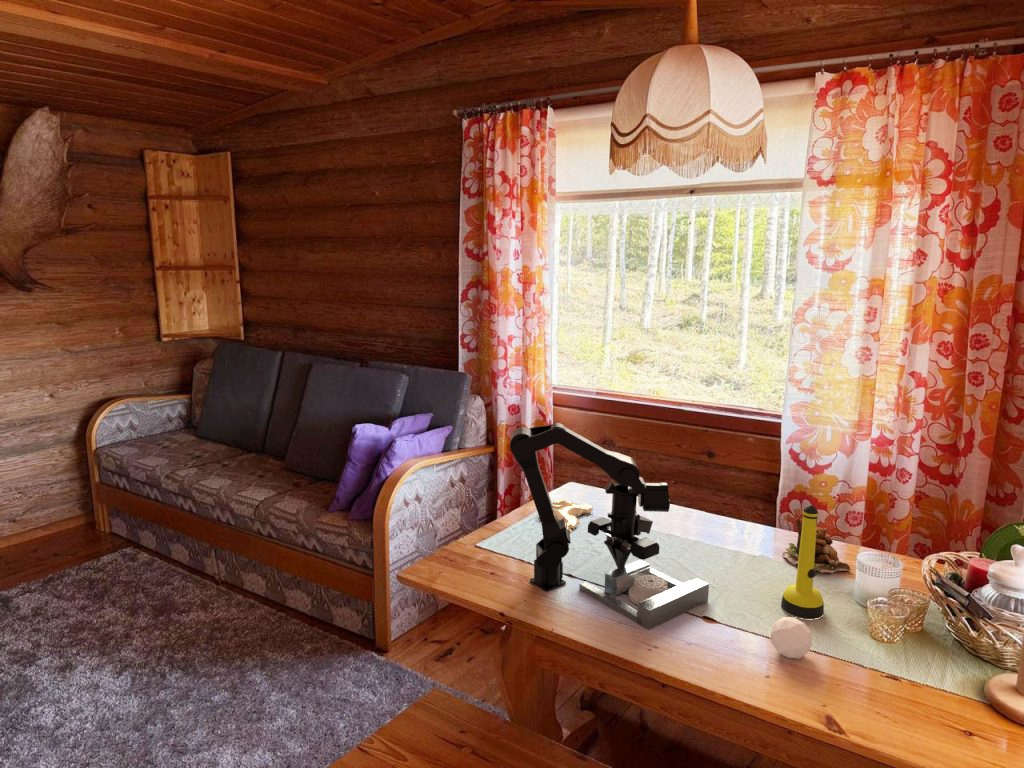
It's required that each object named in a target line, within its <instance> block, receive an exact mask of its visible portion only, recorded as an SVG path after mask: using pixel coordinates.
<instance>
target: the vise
mask: <svg viewBox="0 0 1024 768" xmlns="http://www.w3.org/2000/svg"><path fill="white" fill-rule="evenodd" d="M650 575H654V576H657V577H661V579H663V580H666V582H667V588H668V589H669V590H667V591H665V592H662V593H660V594H658V595H655V596H653V597H651V598H649V599H646V600H644V601H642V602H641V603H639V604H638V605H637V609H635V608H634V607H632V606H630V605H628V604H627V603H625V602H624V601H621V600H619V599H618V598H617V597H615V596H612V595H610V594H609V593H607V592H605V590H602V589H600V588H599V587H597V586H595V585H593V584H591V583H589V582H588V581H582V582H580V583H579V591H582V592H583V594H584V593H585V594H586V595H587V596H589V597H591V598H593V599H595V600H596V601H599V602H600V603H601V604H604V605H605V606H607V607H609V608H611V609H612V610H614V611H615V612H617V613H619V614H620V615H622V616H624V617H626V618H627V619H629V620H630V621H633V622H634V623H636V624H637V625H639V626H641V627H643V628H645V629H646V630H648V631H650V630H651V629H654V628H656V627H658V626H659V625H662V624H664V623H666V622H668V621H670V620H673V619H674V618H676V617H679V616H681V615H683V614H685V613H688V612H689V611H692V610H694V609H695V608H697V607H700V606H701V605H704V604H705V603H708V602H709V593H710V591H709V589H710V583H709V582H706V581H704V580H702V579H700V578H698V577H695V578H694V579H691V580H688V581H685V582H681V581H679V580H678V579H675V578H673V577H671V576H669V575H666V574H665V573H663V572H661V571H658V570H656V569H655V568H652V567H650Z"/></svg>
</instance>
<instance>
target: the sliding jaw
mask: <svg viewBox="0 0 1024 768" xmlns="http://www.w3.org/2000/svg"><path fill="white" fill-rule="evenodd" d="M650 568H651V567H650V563H648V562H647V561H643V560H642V559H638V560H636V561H633V562H630V563H629V564H625V566H623V567H620V568H617V567H616V568H615V569H613V570H610V571H608V572H605V573H604V592H605V593H607V594H609V595H611V596H613V597H615V596H618V595H621V594H622V593H625V592H627V591H629V589H630V588H631V587H632V586H633V585H634V581H635V579H636V578H637V577H638V576H644V574H645V575H648V574H649V575H650Z"/></svg>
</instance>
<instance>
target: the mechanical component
mask: <svg viewBox="0 0 1024 768" xmlns="http://www.w3.org/2000/svg"><path fill="white" fill-rule="evenodd" d="M669 589H670V588H668V587H667V582H666V580H663V579H661V577H657V576H654V575H649V574H648V575H645V574H644V576H638V577H637V578H636V579H635V581H634V585H633V586H632V587H631V588H630V589H629V590H628V597H629V599H630V601H631V603H633V604H634V605H637V606H638V604H639V603H641V602H642V601H644V600H646V599H649V598H651V597H653V596H655V595H658V594H660V593H662V592H665V591H667V590H669Z"/></svg>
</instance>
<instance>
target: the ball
mask: <svg viewBox="0 0 1024 768" xmlns="http://www.w3.org/2000/svg"><path fill="white" fill-rule="evenodd" d="M770 643H771V645H772V646H773V648H774V649H775V650H776V652H778V653H779V654H780V655H782V656H784V657H785V658H788V659H801V658H802V657H804V656H805V655H806V654H808V653H809V651H810V650H811V648H812V646H813V638H812V631H811V630H810V628H809V627H808V625H806V623H805V622H803V621H801V619H797V618H795V617H792V616H788V617H787V616H786V617H785V616H782V617H781V618H780V619H778V620H777V621H775V622H774V623H773V625H772V627H771V629H770Z"/></svg>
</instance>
